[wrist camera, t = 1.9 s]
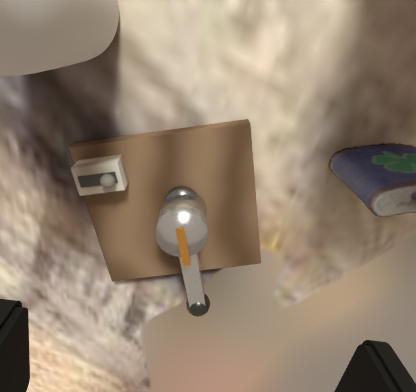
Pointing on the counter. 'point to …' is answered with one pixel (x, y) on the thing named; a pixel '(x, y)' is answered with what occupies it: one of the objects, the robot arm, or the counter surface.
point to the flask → (380, 176)
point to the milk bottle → (53, 33)
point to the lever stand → (157, 190)
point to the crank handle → (185, 240)
